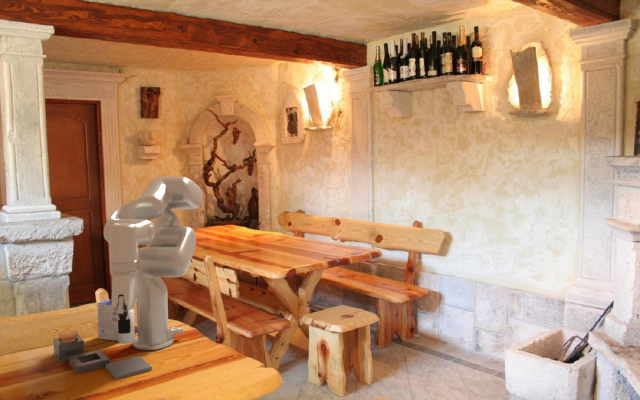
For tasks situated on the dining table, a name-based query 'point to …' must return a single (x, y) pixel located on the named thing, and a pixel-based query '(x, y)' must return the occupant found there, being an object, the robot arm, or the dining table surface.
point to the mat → (128, 367)
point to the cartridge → (130, 336)
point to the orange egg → (68, 336)
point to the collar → (81, 367)
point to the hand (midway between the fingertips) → (126, 329)
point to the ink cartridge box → (107, 321)
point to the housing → (68, 348)
